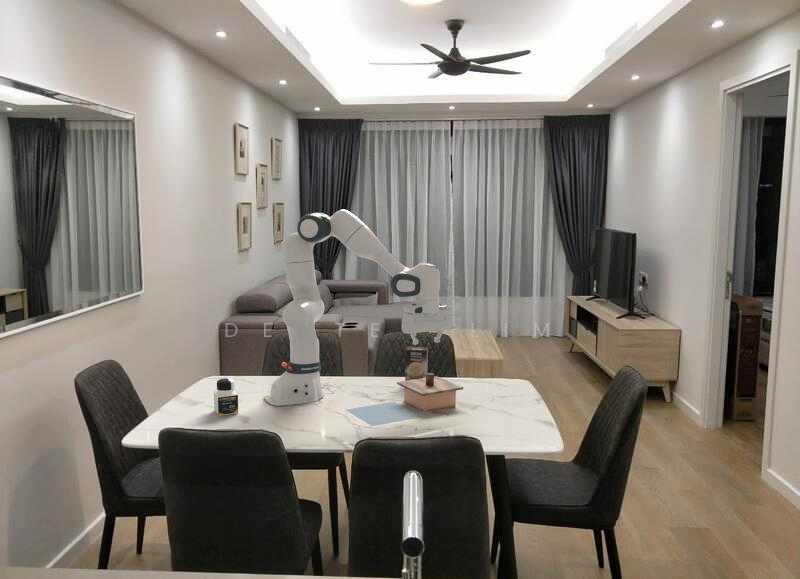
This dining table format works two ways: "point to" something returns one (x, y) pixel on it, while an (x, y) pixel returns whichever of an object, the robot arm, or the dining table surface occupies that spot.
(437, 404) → the terracotta open box
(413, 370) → the coffee box
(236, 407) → the medicine bottle
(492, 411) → the dining table surface
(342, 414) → the dining table surface
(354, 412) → the slate mat
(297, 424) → the dining table surface
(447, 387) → the walnut lid
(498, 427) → the dining table surface
